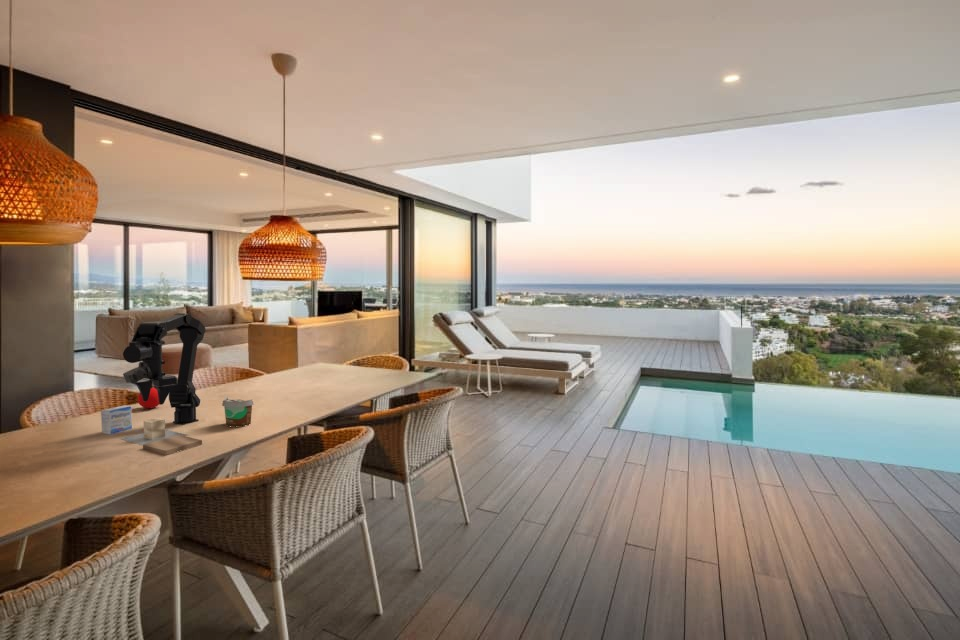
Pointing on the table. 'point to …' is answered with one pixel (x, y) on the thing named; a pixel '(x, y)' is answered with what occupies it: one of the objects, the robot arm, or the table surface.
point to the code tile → (141, 440)
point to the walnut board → (172, 444)
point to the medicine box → (116, 419)
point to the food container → (237, 412)
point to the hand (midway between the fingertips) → (153, 402)
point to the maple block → (154, 428)
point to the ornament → (149, 399)
